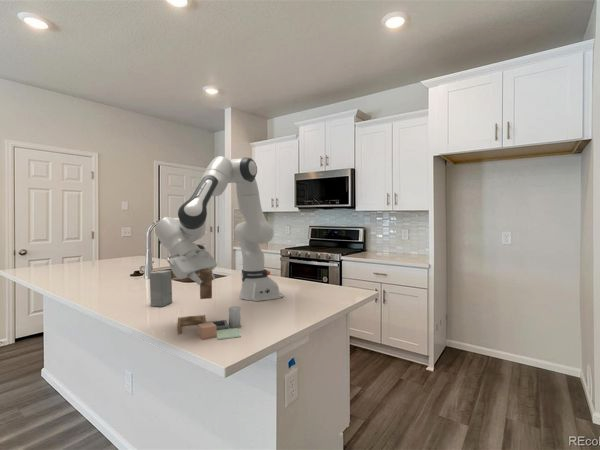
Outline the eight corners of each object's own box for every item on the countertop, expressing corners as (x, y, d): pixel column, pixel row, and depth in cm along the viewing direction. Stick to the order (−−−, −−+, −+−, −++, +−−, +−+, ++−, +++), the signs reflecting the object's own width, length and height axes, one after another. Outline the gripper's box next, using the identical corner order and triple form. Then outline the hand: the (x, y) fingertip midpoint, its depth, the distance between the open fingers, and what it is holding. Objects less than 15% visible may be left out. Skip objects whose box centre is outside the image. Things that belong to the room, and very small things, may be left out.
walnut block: (211, 295, 123) (211, 269, 122) (211, 298, 119) (211, 270, 119) (200, 296, 122) (199, 269, 121) (200, 299, 118) (200, 271, 117)
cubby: (204, 322, 130) (204, 314, 130) (206, 330, 120) (206, 322, 120) (178, 325, 126) (177, 317, 126) (177, 334, 117) (177, 325, 117)
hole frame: (226, 323, 128) (226, 319, 128) (228, 330, 121) (228, 326, 121) (206, 325, 126) (206, 321, 126) (207, 332, 119) (207, 328, 119)
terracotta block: (211, 332, 119) (211, 321, 119) (216, 336, 115) (216, 325, 115) (197, 335, 116) (197, 324, 116) (202, 340, 112) (202, 328, 112)
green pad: (237, 329, 122) (237, 328, 122) (241, 337, 115) (241, 335, 115) (215, 331, 120) (215, 330, 119) (217, 339, 112) (217, 338, 112)
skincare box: (162, 307, 150) (162, 273, 150) (148, 306, 152) (148, 272, 151) (173, 302, 158) (173, 269, 158) (160, 301, 160) (159, 269, 159)
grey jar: (239, 323, 129) (239, 306, 128) (241, 327, 124) (241, 309, 124) (228, 324, 127) (228, 307, 127) (229, 328, 123) (229, 310, 123)
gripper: (170, 250, 112) (193, 281, 109) (206, 245, 131) (227, 271, 128) (159, 263, 114) (183, 293, 111) (197, 255, 133) (218, 281, 130)
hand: (207, 281), depth 120 cm, fingers closed on walnut block, 6 cm apart
